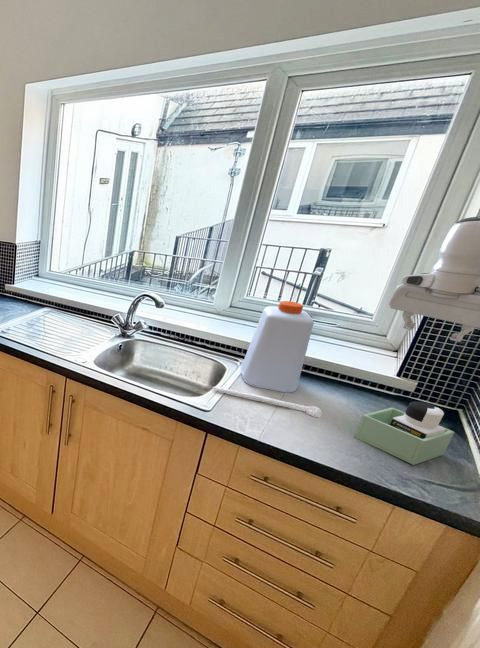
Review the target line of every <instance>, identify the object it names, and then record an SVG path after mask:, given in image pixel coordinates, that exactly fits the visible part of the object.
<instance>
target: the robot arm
mask: <svg viewBox="0 0 480 648" xmlns="http://www.w3.org/2000/svg"><path fill="white" fill-rule="evenodd" d="M438 254H439V255H438V259H437V261H436V262H435V264H434V265H433V267H432V268H431V270H430V272H422V273H418V274H417V273H416V274H408V275H404V276H403V277H402V278H401V284H399V285H397V287H396V288H395V289H394V291H393V293H392V294H391V296H390V298H389V301H388V306H389V309H391V310H395V311H401V312H402V318H403V321H404V324H403V327H402V328H403V329H404V330H409V331H411V330H414V329H415V326H416V322H413V320H412V317H413V316H414V315H418V316H423V317H426V318H427V317H428V318H432V319H436V320H441V321H445V322H450V323H454V324H458V325H462V326H461V331H460V332H453V333H452V334H451V337H450V338H449V341H452V342H456V343H460V342H462V341H463V338H464V336H466V335H467V334H470V333H471V332H473V331H474V329H476V328H477V329H480V216H471V217H464V218H463V219H462V218H461V219H460V220H458V221H456V222H455V223H453V225H452V226H451V227H450V229H449V231H448V232H447V234H446V235H445V237H444V240H443V242H442V243H441V246H440V249H439V252H438Z"/></svg>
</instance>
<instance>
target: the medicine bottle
mask: <svg viewBox="0 0 480 648" xmlns="http://www.w3.org/2000/svg"><path fill="white" fill-rule="evenodd" d="M404 412H405V414H404V415H403V416H398V417H394V418H393V419H392V421H391V423H390V426H393V427H395V428H397V429H400V430H402V431H404V432H407V433H409V434H412V435H414V436H416V437H419V438H421V439H424V438H427V437H431V436H434V435H437V434H441V433H444V432H445V430H446V429H447V428H446V429H445V427H444V426H441V425H440V422H441V421H442V419H443V417H444V415H445V412H444V411H443V410H442V409H441V408H439V407H438V406H436V405H434V404H432V403H428V402H426V401H425V402H423V401H411V402H409V403H408V405H407V408H406V409H405V411H404Z"/></svg>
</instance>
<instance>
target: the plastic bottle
mask: <svg viewBox="0 0 480 648" xmlns="http://www.w3.org/2000/svg"><path fill="white" fill-rule="evenodd" d="M303 309H304V306H303V304H302V303H299V302H295V301H291V300H290V301H289V300H282V301H280V302H279V304H278V306H275V305H274V306H273V305H270V306H266V307H264V308H263V310H262V313H261V315H260V318H259V320H258V323H257V325H256V328H255V331H254V334H253V336H252V338H251V341H250V343H249V346H248V349H247V351H246V354H245V355H244V359H243V361H242V364H241V366H240V373H241V376H242V380H243V382H244V383H246V384H247V385H249V386H250V387H251V386H252V387H254V388H259V389H264V390H268V391H269V390H270V391H274V392H279V393H286V394H288V393H289V394H291V393H294V392H295V391H296V390H297V389H298V385H299V381H300V377H301V374H302V370H303V367H304V362H305V359H306V354H307V350H308V347H309V343H310V340H311V335H312V332H313V328H314V323H315V322H314V319H313V318H312V317H311V316H310V314H309V313H308V312H306V311H305V310H303Z"/></svg>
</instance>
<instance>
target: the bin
mask: <svg viewBox="0 0 480 648" xmlns="http://www.w3.org/2000/svg"><path fill="white" fill-rule="evenodd" d="M404 414H405V411H403V410H400V409H398V408H395V407H388V408H385V409H380V410H377V411H373V412H369V413H365V414H362V415H361V418H360V421H359V423H358V426H357V428H356V431H355V432H354V433H355V434H354V438H356V439H357V440H360V441H362V442H364V443H366V444H368V445H371V447H375V448H377V449H379V450H381V451H383V452H385V453H387V454H390V455H391V456H394V457H396V458H398V459H400V460H402V461H404V462H406V463H409V464H410V465H412V466H415V465H418V464H420V463H423V462H426V461H430V460H432V459H435V458H436V459H437V458H438V457H441V456H444V455H445V453H446V450H447V448H448V446H449V444H450V442H451V441H452V438H453V436H454V435H455V431H453V430H450V429H449V428H445V427H444V428H445V429H446V430H445V432H444V433H441V434H437V435H434V436H431V437H427V438H424V439H421V438H419V437H416V436H414V435H412V434H409V433H407V432H404V431H402V430H400V429H397V428H395V427H393V426H390V423H391V421H392V419H393V418H394V417H398V416H403V415H404Z"/></svg>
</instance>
